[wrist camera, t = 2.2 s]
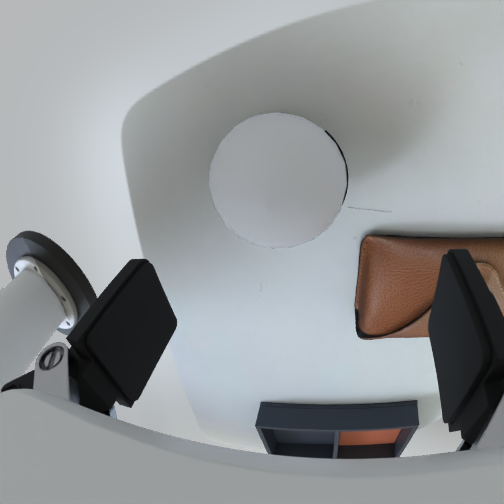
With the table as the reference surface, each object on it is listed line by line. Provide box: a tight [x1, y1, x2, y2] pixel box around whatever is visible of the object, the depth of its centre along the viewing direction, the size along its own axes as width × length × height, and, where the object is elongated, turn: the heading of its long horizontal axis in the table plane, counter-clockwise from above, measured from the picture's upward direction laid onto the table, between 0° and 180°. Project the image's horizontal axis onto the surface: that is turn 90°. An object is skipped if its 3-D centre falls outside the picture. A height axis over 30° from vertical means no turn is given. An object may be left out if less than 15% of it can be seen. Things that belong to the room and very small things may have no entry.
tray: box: [255, 400, 419, 459], centre depth 35 cm, size 20×13×4 cm, turn 101°
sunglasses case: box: [354, 235, 504, 340], centre depth 19 cm, size 18×7×7 cm, turn 101°
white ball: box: [209, 112, 391, 249], centre depth 16 cm, size 10×7×7 cm
